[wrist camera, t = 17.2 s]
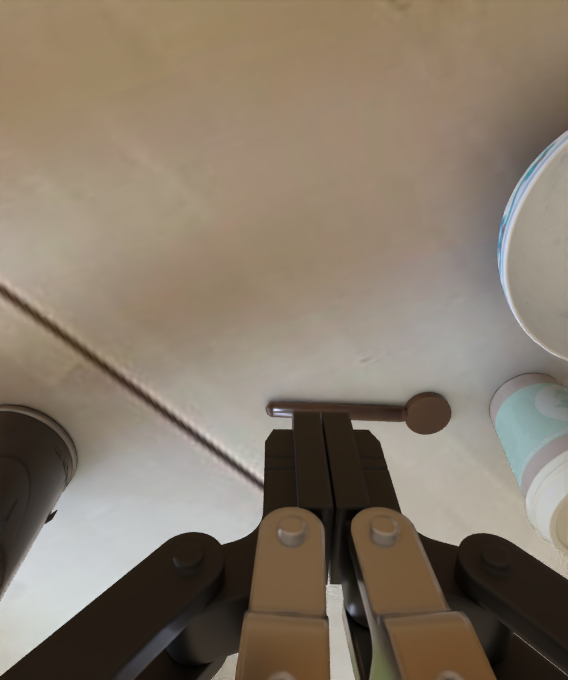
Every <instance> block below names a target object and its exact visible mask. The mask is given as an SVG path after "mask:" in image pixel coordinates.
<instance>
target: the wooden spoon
mask: <svg viewBox="0 0 568 680" xmlns="http://www.w3.org/2000/svg"><path fill="white" fill-rule="evenodd" d="M293 411H320V415H321V411H348V412H349V415H350V419H351V420H361V421H386V422H403V421H406V424H407V426H408V427H409V428H410V429H411V430H412V431H414V432H416V433H418V434H424V435H425V434H433V433H436V432H438V431H440V430H442V429H443V428H444V427H445V426H446V425H447V424H448V422H449V420H450V418H451V409H450V406H449V404H448V402H447V401H446V399H445V398H444V397H442V396H441V395H439V394H437V393H432V392H426V393H421V394H418V395H416V396H414V397H413V398H411V399H410V400H409V401H408V403H407V404H406V406H405V408H404V407H395V406H370V405H344V404H319V403H294V402H270V403H269V404H268V405H267V407H266V412H267V414H268V415H269V416H271V417H283V418H292V414H293Z"/></svg>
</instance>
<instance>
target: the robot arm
mask: <svg viewBox="0 0 568 680" xmlns="http://www.w3.org/2000/svg"><path fill="white" fill-rule="evenodd" d="M76 467H77V454H76V450H75V447H74V445H73V443H72V441H71V439H70V438H69V436H68V435H67V433H66V432H65V431H64V430H63V429H62V428H61V427H60V426H59V425H58V424H57V423H55V422H54V421H53V420H51V419H50V418H48V417H47V416H45V415H43V414H41V413H39V412H37V411H34V410H32V409H29V408H25V407H21V406H14V405H0V601H1V599H2V597H3V595H4V594H5V592H6V590H7V588H8V587H9V585H10V583H11V581H12V580H13V578H14V576H15V575H16V573H17V571H18V569H19V568H20V566H21V564H22V562H23V561H24V559H25V557H26V555H27V554H28V552H29V550H30V548H31V547H32V545H33V543H34V541H35V540H36V538H37V536H38V534H39V533H40V531H41V529H42V527H43V526H44V524H46V523H47V522H49V521H50V520H52V519H53V517H54V515H55V514H56V512H57V510H56V511H55V512H53V513H52V514H50V513H51V512H52V510H53V508H54V506H55V505H56V503H57V501H58V499H59V498H60V496H61V494H62V492H63V491H64V490H65V488H66V487H67V485H68V484H69V482H70V481H71V479H72V477H73V476H74V473H75V471H76ZM328 570H329V578H330V584H342V591H343V598H344V599H343V609H342V619H343V624H344V629H345V634H346V639H347V643H348V648H349V653H350V658H351V663H352V667H353V672H354V677H355V680H568V676H567V675H568V580H567V579H566V578H564V577H563V576H561V575H560V574H558V573H557V572H555V571H554V570H552V569H551V568H549V567H548V566H546V565H545V564H543V563H542V562H540V561H539V560H537V559H536V558H534V557H533V556H531V555H530V554H528V553H527V552H525V551H524V550H522V549H521V548H519V547H518V546H516V545H515V544H513V543H512V542H510V541H508V540H506V539H504V538H502V537H499V536H496V535H492V534H486V533H478V534H473V535H470V536H468V537H466V538H465V539H464V540H463V541H462V542H461V544H460V546H459V547H458V546H455V545H451V544H447V543H443V542H439V541H436V540H433V539H430V538H428V537H425V536H423V535H422V534H420V533H418V532H417V531H416V529H415V527H414V525H413V524H412V522H411V521H410V520H409V519H408V518H407V517H406V516H404V515H403V514H402V513H401V510H400V507H399V503H398V500H397V497H396V493H395V490H394V487H393V484H392V480H391V477H390V474H389V470H388V469H387V464H386V461H385V458H384V454H383V451H382V448H381V444H380V442H379V441H378V439H377V438H376V437H375V436H374V435H373V434H372V433H371V432H370V431H369V430H353V427H352V423H351V419H350V415H349V412H348V411H321V415H320V411H293V414H292V430H288V429H273V431H272V432H271V434H270V435H269V437H268V438H267V440H266V441H265V468H264V503H263V517H262V520H261V522H260V524H259V525H258V527H257V528H256V529H255V530H254V531H253V532H252V533H251V534H249V535H248V536H246V537H244V538H242V539H240V540H237V541H234V542H230V543H227V544H223V545H221V544H220V543H219V542H218V541H217V540H216V539H215V538H213V537H212V536H210V535H207V534H204V533H199V532H189V533H183V534H180V535H177V536H175V537H173V538H171V539H169V540H168V541H166V542H165V543H164V544H163V545H161V546H160V547H159V548H158V549H156V550H155V551H154V552H153V553H151V554H150V555H149V556H148V557H147V558H145V559H144V560H143V561H142V562H140V563H139V564H138V565H137V566H135V567H134V568H133V569H132V570H131V571H129V572H128V573H127V574H126V575H124V576H123V577H122V578H121V579H119V580H118V581H117V582H116V583H115V584H113V585H112V586H111V587H110V588H108V589H107V590H106V591H105V592H103V593H102V594H101V595H100V596H99V597H97V598H96V599H95V600H94V601H92V602H91V603H90V604H89V605H87V606H86V607H85V608H84V609H83V610H81V611H80V612H79V613H78V614H76V615H75V616H74V617H73V618H71V619H70V620H69V621H68V622H67V623H65V624H64V625H63V626H62V627H60V628H59V629H58V630H57V631H55V632H54V633H53V634H52V635H51V636H49V637H48V638H47V639H46V640H44V641H43V642H42V643H41V644H39V645H38V646H37V647H36V648H34V649H33V650H32V651H31V652H30V653H28V654H27V655H26V656H25V657H23V658H22V659H21V660H20V661H18V662H17V663H16V664H15V665H14V666H12V667H11V668H10V669H9V670H7V671H6V672H5V673H4V674H2V675H1V676H0V680H211V679H212V677H213V676H214V675H215V674H216V673H217V672H218V670H219V669H220V668H221V667H222V665H223V664H224V662H225V660H226V658H227V656H229V655H232V654H235V653H238V652H239V653H238V660H237V667H236V675H235V680H330V647H329V619H328V616H327V614H326V585H327V582H328ZM514 633H516V634H517V635H518V636H520V637H521V638H522V639H523V640H524V641H526V642H527V643H528V644H530V645H531V646H532V647H533V648H535V649H536V650H537V651H538V652H540V653H541V654H542V655H543V656H545V657H546V658H547V659H548V660H550V661H551V662H552V663H554V664H555V665H556V666H558V668H560V669H561V670H562V671H564V672H565V673H566V674H567V675H565V674H564V673H563V672H562V671H560V670H559V669H558V668H557V667H555V666H554V665H553V664H551V663H550V662H549V661H548V660H547V659H545V658H544V657H543V656H541V655H540V654H539V653H538V652H537V651H535V650H534V649H533V648H531V647H530V646H529V645H528V644H527V643H525V642H524V641H523V640H522V639H520V638H519V637H518V636H516V635H515V634H514Z"/></svg>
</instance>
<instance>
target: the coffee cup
mask: <svg viewBox="0 0 568 680" xmlns="http://www.w3.org/2000/svg"><path fill="white" fill-rule="evenodd" d="M489 412H490V417H491V420H492V423H493V425H494V427H495V430H496V432H497V435H498V437H499V440H500V442H501V444H502V447H503V449H504V452H505V454H506V456H507V459H508V461H509V464H510V466H511V468H512V471H513V473H514V476H515V478H516V480H517V483H518V485H519V488H520V490H521V492H522V495H523V497H524V499H525V511H526V515H527V518H528V521H529V522H530V524H531V526H532V527H533V528H534V529H535V530H536V531H537V532H538V534H539V535H540V536H541V537H542V538H543V539H544V540H545V541H547V542H548V543H550V544H551V545H553V546H554V547H555V548H556V549H557V550H559V551H560V552H561V553H562V554H564V555H566V556H567V557H568V389H567V388H566V387H564V386H563V385H562V384H560V383H559V382H558V381H556V380H555V379H553V378H552V377H550V376H547V375H544V374H538V373H531V374H524V375H520V376H518V377H515V378H513V379H511V380H509V381H508V382H506V383H505V384H503V385H502V386H501V387H500V388H499V389H498V390H497V392H496V393H495V394H494V396H493V398H492V400H491V403H490V409H489Z"/></svg>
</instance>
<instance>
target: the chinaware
mask: <svg viewBox="0 0 568 680" xmlns="http://www.w3.org/2000/svg"><path fill="white" fill-rule="evenodd" d="M498 267H499V274H500V279H501V283H502V287H503V290H504V293H505V296H506V299H507V301H508V304H509V306H510V308H511V310H512V312H513V314H514V316H515V318H516V319H517V321H518V322H519V324H520V325H521V327H522V328H523V329H524V331H525V332H526V333H527V334H528V335H529V336H530V337H531V338H532V339H533V340H534V341H535V342H536V343H537V344H538V345H540V346H541V347H542V348H544V349H545V350H547V351H548V352H550V353H551V354H553V355H555V356H557V357H559V358H561V359H564V360H566V361H568V130H567V131H565V132H564V133H563V134H561V135H560V136H559V137H558V138H556V139H555V140H554V141H553V142H552V143H551V144H550V145H549V146H548V147H547V148H545V149H544V150H543V151H542V153H541V154H540V155H539V156H538V157H537V158H536V159H535V160H534V161H533V163H532V164H531V165H530V166H529V168H528V169H527V170H526V172H525V173H524V174H523V176H522V177H521V179H520V180H519V182H518V184H517V185H516V187H515V189H514V191H513V193H512V195H511V197H510V199H509V201H508V204H507V206H506V209H505V212H504V215H503V218H502V222H501V226H500V231H499V238H498Z"/></svg>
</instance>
